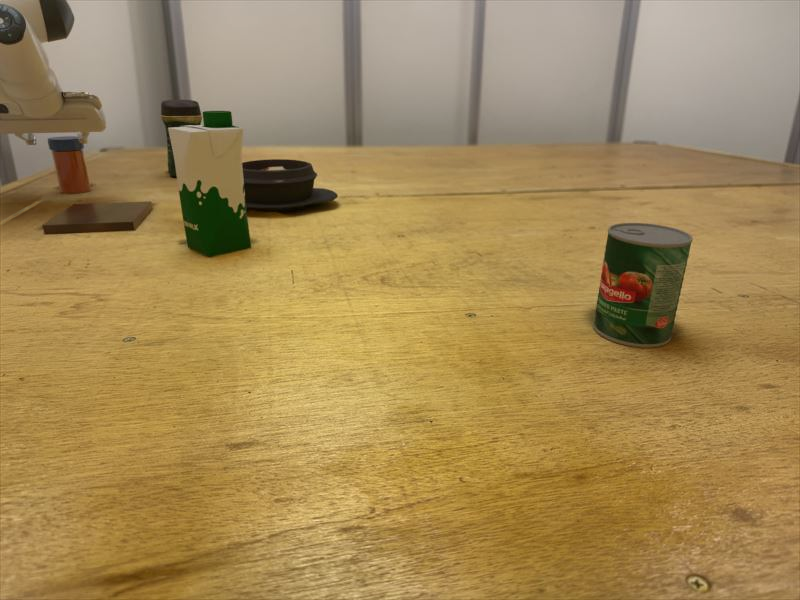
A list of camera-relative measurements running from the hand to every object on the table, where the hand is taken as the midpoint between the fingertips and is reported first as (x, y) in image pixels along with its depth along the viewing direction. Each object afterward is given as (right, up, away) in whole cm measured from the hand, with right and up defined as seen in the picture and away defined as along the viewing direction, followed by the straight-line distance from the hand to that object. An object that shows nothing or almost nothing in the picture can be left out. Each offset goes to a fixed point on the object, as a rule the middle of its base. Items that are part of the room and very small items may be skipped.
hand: (58, 141), depth 114 cm
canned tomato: (+96, -36, -54) cm, 116 cm away
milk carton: (+42, -25, -28) cm, 57 cm away
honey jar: (-2, -8, +10) cm, 13 cm away
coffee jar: (+16, 0, +30) cm, 34 cm away
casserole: (+46, -14, -2) cm, 48 cm away
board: (+17, -18, -13) cm, 28 cm away
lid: (-2, +2, +6) cm, 7 cm away
